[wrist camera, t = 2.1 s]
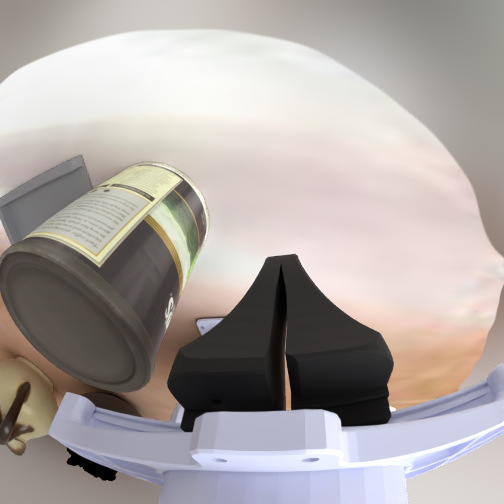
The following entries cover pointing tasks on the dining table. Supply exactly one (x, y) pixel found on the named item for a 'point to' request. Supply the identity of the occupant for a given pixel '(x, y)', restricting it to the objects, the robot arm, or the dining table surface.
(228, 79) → the dining table surface
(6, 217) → the tray
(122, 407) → the bowl of black rocks
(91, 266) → the coffee can
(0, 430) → the pitcher
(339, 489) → the robot arm
